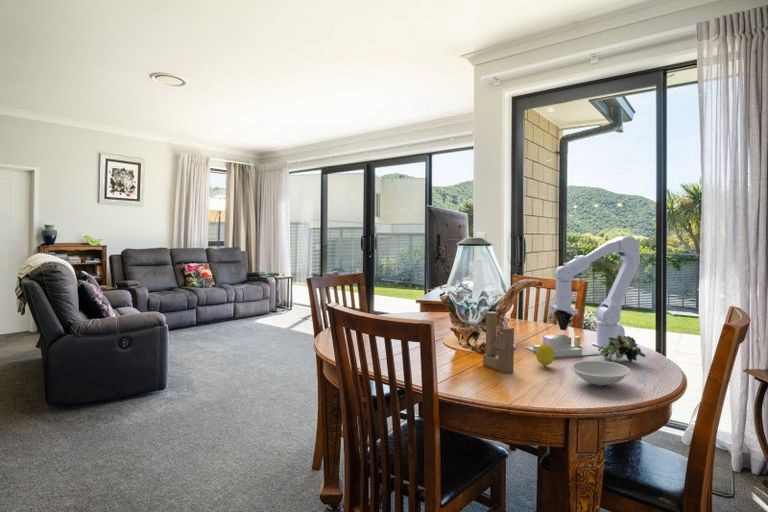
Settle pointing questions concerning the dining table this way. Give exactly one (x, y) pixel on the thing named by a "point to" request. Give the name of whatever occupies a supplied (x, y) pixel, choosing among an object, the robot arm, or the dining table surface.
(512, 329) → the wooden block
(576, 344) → the block
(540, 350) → the lemon
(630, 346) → the green leafy plant
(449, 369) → the dining table surface
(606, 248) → the robot arm
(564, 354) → the vise base
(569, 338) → the steel block
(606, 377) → the dish
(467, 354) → the dining table surface
